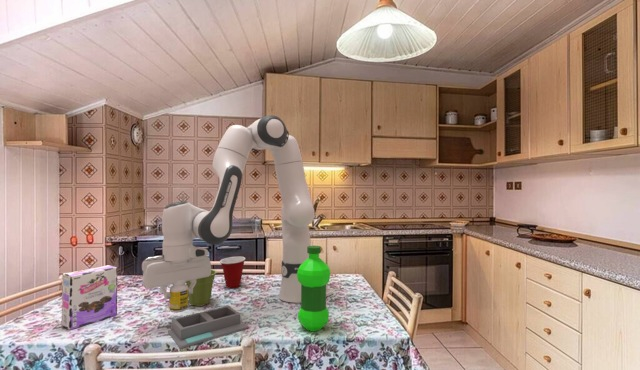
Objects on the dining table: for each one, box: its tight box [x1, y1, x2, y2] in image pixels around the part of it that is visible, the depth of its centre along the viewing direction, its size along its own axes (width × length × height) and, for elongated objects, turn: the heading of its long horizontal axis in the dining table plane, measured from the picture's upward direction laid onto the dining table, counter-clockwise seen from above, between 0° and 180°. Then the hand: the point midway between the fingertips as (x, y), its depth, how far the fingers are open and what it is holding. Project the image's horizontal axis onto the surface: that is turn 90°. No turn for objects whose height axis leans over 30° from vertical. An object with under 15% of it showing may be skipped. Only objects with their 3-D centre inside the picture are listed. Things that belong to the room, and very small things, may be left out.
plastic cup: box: [219, 256, 246, 289], centre depth 142 cm, size 11×11×12 cm
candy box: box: [61, 264, 118, 330], centre depth 106 cm, size 14×6×16 cm, turn 148°
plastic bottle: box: [297, 245, 331, 332], centre depth 102 cm, size 10×10×25 cm
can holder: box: [167, 305, 250, 349], centre depth 99 cm, size 20×12×4 cm, turn 130°
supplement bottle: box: [169, 280, 189, 313], centre depth 105 cm, size 5×5×10 cm
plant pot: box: [185, 269, 218, 307], centre depth 122 cm, size 12×12×11 cm
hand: (179, 296), depth 105 cm, fingers closed on supplement bottle, 5 cm apart
